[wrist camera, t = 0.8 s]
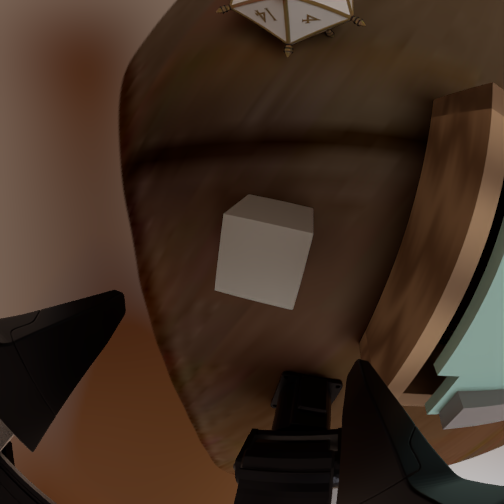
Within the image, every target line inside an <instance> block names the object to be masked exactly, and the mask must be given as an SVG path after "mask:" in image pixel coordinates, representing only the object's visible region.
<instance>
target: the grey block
mask: <svg viewBox="0 0 504 504" xmlns="http://www.w3.org/2000/svg"><path fill="white" fill-rule="evenodd" d="M312 237H313V208H310V207H306V206H302V205H297V204H293V203H288V202H284V201H279V200H274V199H270V198H265V197H260V196H255V195H250V194H248V195H247V196H246V197H244V198H243V199H242V200H241V201H239V202H238V203H237V204H235V205H234V206H233V207H232V208H230V209H229V210H228V211H226V212H225V213H224V214H223V222H222V230H221V238H220V247H219V255H218V264H217V273H216V282H215V291H219V292H223V293H227V294H230V295H234V296H238V297H242V298H246V299H250V300H254V301H258V302H262V303H266V304H270V305H274V306H278V307H282V308H286V309H291V310H293V307H294V304H295V301H296V297H297V294H298V290H299V286H300V283H301V279H302V276H303V272H304V268H305V264H306V261H307V257H308V253H309V249H310V245H311V241H312Z"/></svg>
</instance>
